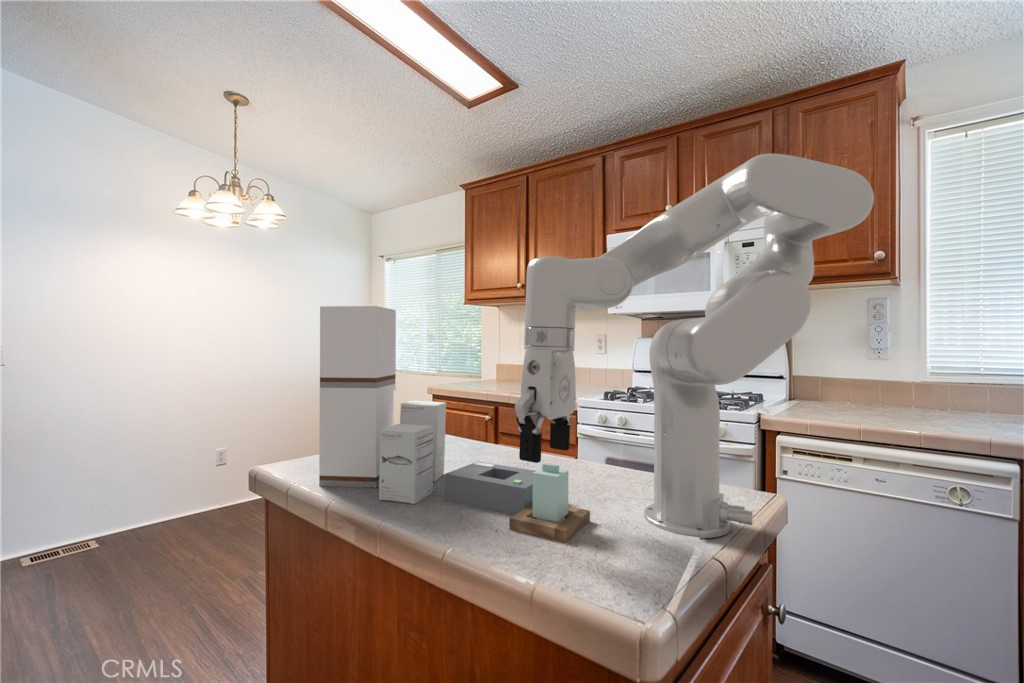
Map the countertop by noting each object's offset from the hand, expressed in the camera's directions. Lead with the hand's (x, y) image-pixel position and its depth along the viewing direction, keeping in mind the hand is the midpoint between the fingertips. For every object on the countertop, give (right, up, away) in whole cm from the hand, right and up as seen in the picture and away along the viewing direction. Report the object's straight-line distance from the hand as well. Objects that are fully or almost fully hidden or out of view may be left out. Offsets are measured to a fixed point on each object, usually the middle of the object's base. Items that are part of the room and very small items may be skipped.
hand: (545, 454), depth 70 cm
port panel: (-7, -11, +12) cm, 18 cm away
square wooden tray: (+1, -11, 0) cm, 11 cm away
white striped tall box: (-36, -11, +26) cm, 46 cm away
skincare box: (-24, -12, +27) cm, 38 cm away
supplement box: (-24, -11, +15) cm, 31 cm away
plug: (+1, -11, 0) cm, 11 cm away
